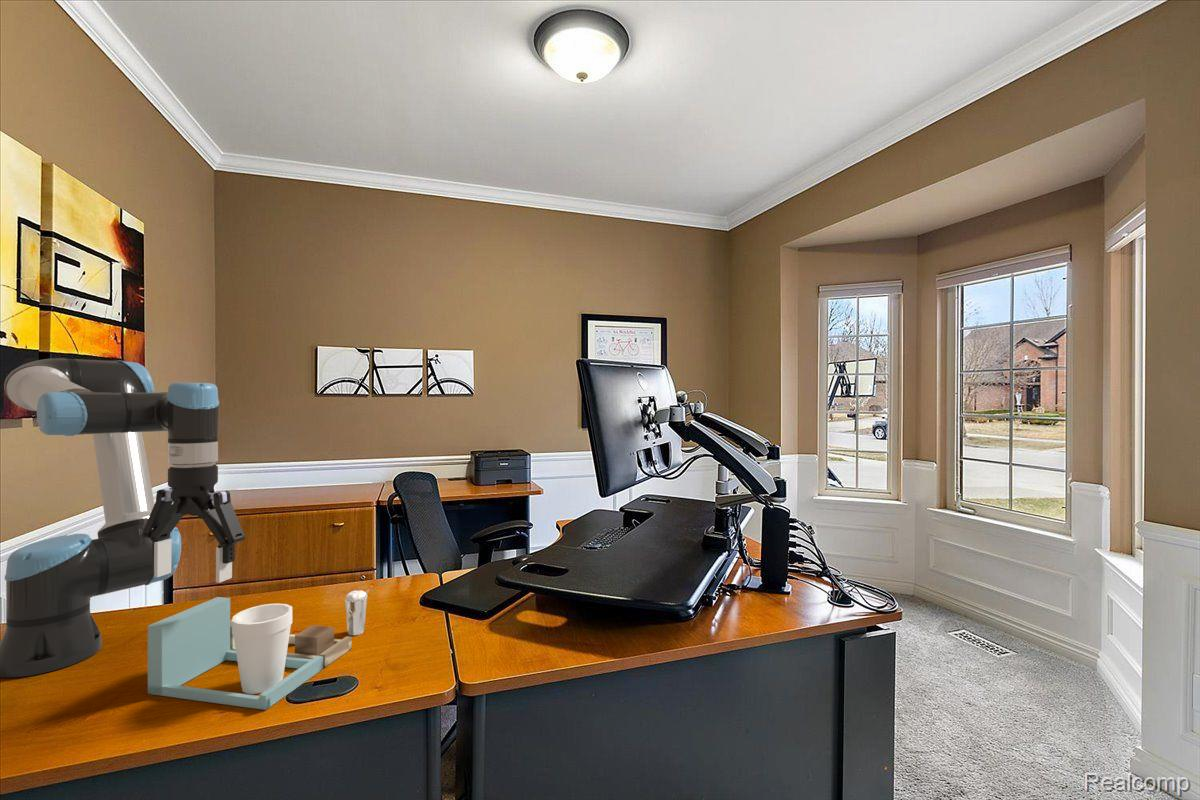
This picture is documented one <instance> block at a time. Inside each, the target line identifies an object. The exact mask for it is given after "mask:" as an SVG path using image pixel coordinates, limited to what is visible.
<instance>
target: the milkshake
mask: <svg viewBox="0 0 1200 800" xmlns="http://www.w3.org/2000/svg"><path fill="white" fill-rule="evenodd" d="M366 591H367V592H366ZM366 591H363V590H351V591H350V592H348V593H347V594H346V595H345V597H344V601H345V613H346V624H347V625H346V627H347V634H348V635H349V636H351V637H352V636H359V635H362V634H363V633H364V632H365V626H366V611H367V602H368V593H369V591H370V588H368V589H367V590H366Z"/></svg>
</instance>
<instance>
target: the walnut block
mask: <svg viewBox="0 0 1200 800" xmlns="http://www.w3.org/2000/svg"><path fill="white" fill-rule="evenodd" d="M294 635H295V644H294V653H298V654H307V655H316V656H320V654H321V653H323V652H324V651H326V650H327V649H328V648H330V647H331V646H333V645H334V639H335V627H334V626H326V625H325V626H323V625H317V624H316V625H315V624H312V625H310V626H308V627H307V628H305V629H304V630H302V631H301V632H299V633H297V634H294Z"/></svg>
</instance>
